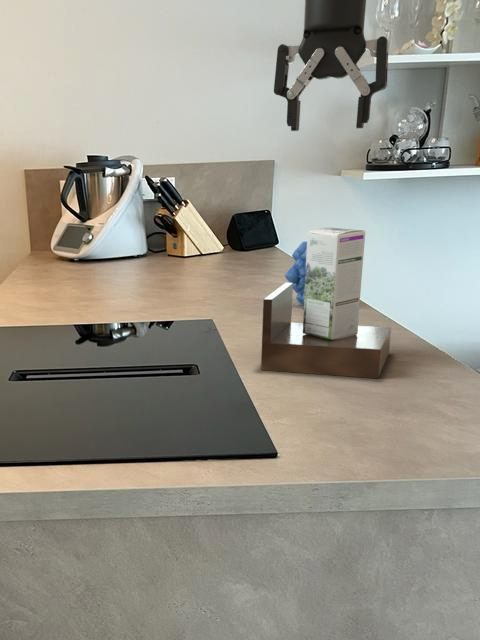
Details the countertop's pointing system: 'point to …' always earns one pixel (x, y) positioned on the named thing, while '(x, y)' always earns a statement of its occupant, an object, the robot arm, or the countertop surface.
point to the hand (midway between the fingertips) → (326, 129)
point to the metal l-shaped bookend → (317, 344)
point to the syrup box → (333, 282)
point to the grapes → (298, 272)
